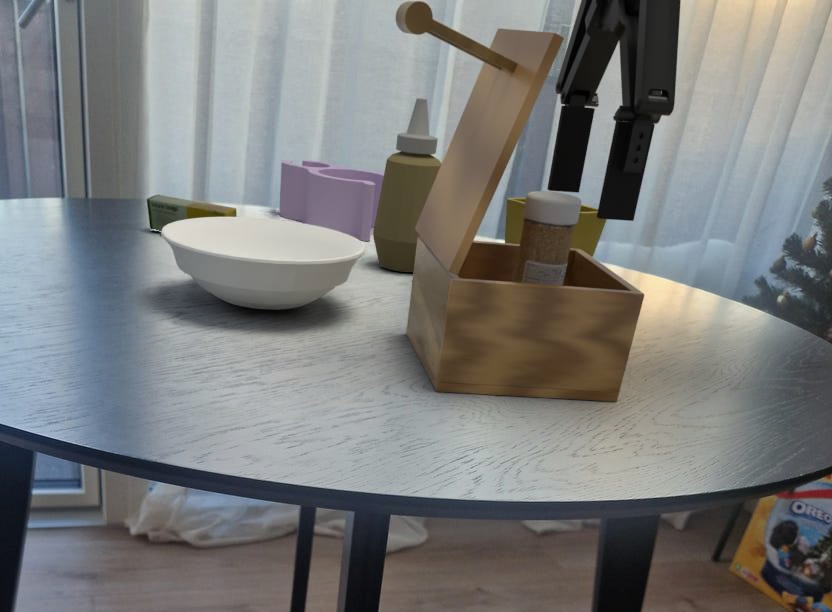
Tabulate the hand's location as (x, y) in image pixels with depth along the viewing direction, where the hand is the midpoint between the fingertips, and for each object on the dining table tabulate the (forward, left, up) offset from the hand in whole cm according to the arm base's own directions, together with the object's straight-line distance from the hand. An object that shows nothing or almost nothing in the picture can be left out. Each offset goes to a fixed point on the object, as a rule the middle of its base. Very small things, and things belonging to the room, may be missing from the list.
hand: (586, 204), depth 77 cm
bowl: (+25, +17, -14) cm, 33 cm away
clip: (+62, -13, -14) cm, 65 cm away
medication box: (+55, +12, -14) cm, 58 cm away
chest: (+2, +4, -14) cm, 14 cm away
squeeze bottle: (+37, -8, -14) cm, 40 cm away
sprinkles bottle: (+1, +3, -13) cm, 13 cm away
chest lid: (+4, +9, +3) cm, 10 cm away
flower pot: (+27, -22, -14) cm, 37 cm away
